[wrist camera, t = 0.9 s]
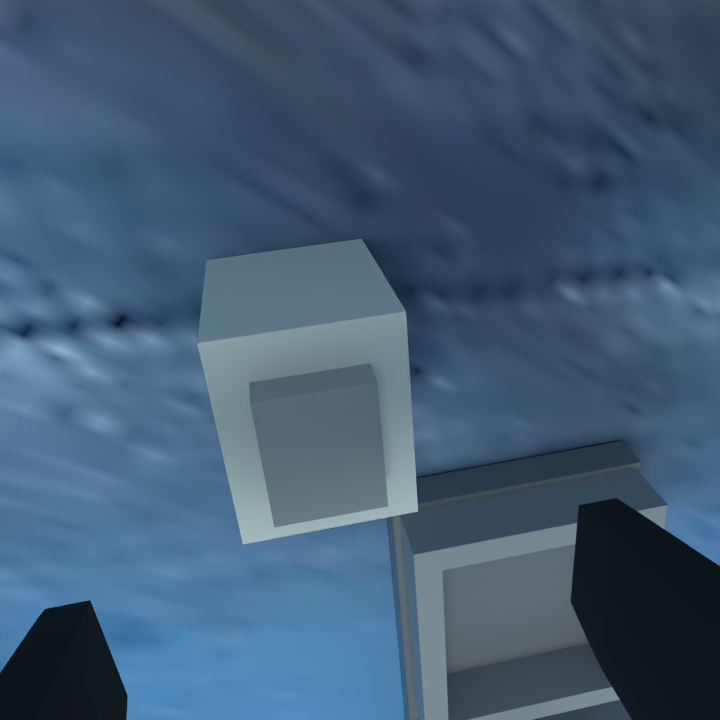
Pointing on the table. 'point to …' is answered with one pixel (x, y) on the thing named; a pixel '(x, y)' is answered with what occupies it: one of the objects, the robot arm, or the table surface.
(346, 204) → the table surface
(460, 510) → the socket strip
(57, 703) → the robot arm
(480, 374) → the table surface
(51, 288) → the table surface
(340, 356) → the grey plug
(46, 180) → the table surface
